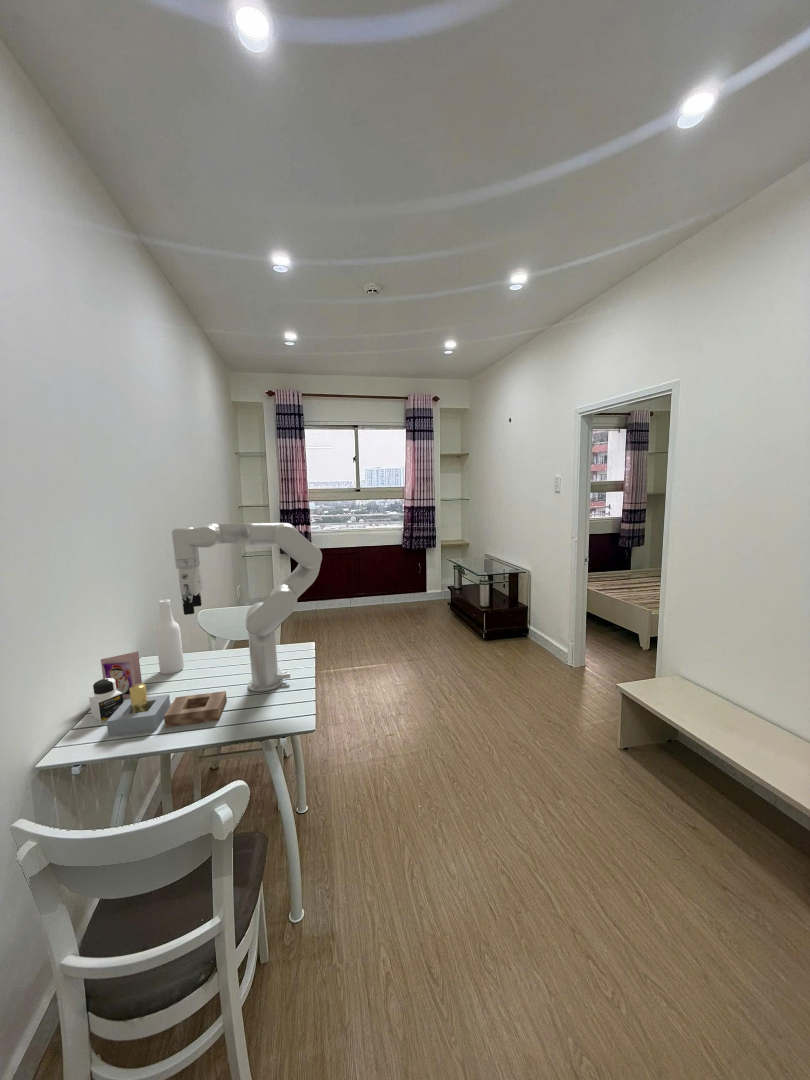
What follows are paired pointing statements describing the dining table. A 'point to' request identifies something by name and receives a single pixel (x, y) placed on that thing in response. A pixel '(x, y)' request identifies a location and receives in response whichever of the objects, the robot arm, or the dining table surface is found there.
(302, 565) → the robot arm
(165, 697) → the slate seat block
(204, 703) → the brown hollow frame
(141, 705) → the brass axle
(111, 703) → the medicine bottle
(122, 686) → the greeting card
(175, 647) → the alcohol
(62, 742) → the dining table surface
